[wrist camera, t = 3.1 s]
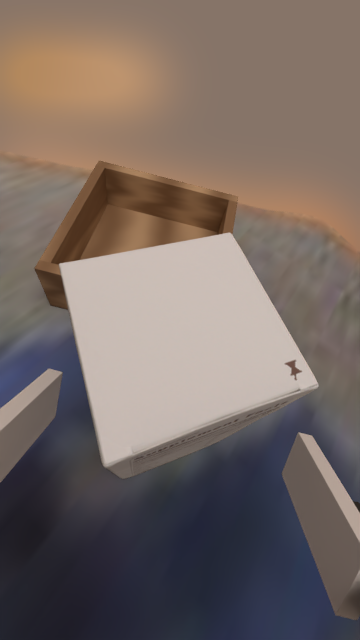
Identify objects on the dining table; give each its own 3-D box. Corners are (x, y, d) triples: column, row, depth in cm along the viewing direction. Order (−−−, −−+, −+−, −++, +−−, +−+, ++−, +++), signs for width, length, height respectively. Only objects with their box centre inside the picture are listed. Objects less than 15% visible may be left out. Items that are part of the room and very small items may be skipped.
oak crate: (50, 305, 31) (34, 268, 26) (103, 203, 39) (99, 160, 34) (204, 343, 31) (219, 314, 26) (224, 234, 40) (238, 196, 35)
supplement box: (187, 350, 31) (237, 226, 16) (223, 441, 27) (332, 384, 12) (93, 377, 28) (51, 257, 13) (118, 483, 24) (98, 473, 9)
